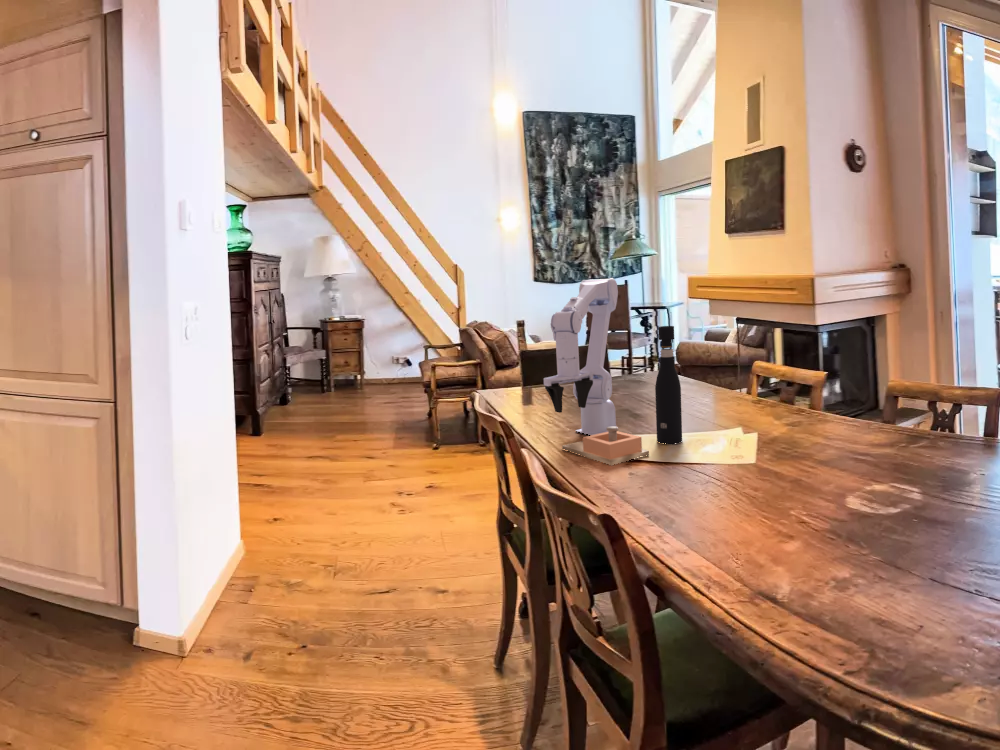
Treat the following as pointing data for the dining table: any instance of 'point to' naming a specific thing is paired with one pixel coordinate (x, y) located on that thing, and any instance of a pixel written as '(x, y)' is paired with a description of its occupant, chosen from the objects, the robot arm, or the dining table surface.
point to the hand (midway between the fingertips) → (570, 409)
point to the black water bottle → (668, 392)
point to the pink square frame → (612, 445)
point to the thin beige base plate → (578, 449)
